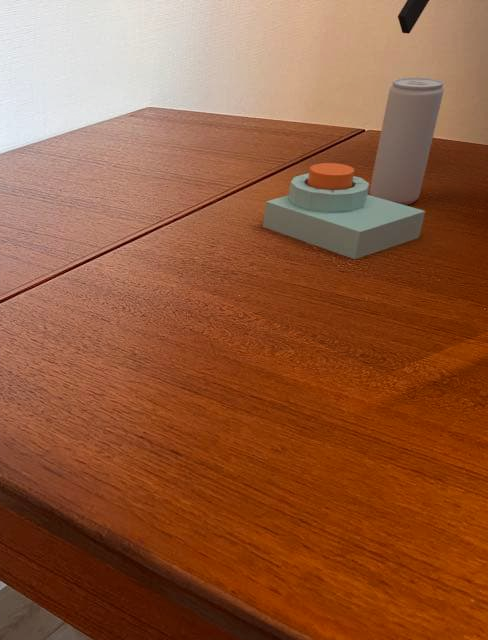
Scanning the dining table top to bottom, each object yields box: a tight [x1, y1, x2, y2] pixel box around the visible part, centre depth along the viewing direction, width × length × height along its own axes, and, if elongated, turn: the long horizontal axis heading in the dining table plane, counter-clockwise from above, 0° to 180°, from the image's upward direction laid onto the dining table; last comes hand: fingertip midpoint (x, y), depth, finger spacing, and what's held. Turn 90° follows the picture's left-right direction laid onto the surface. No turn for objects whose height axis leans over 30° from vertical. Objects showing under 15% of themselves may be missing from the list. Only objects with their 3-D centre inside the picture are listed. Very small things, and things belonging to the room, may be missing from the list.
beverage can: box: [368, 76, 445, 206], centre depth 88 cm, size 5×5×12 cm
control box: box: [262, 172, 426, 260], centre depth 83 cm, size 11×9×4 cm
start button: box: [307, 162, 355, 190], centre depth 83 cm, size 4×4×2 cm
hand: (462, 30), depth 88 cm, fingers open, 12 cm apart
